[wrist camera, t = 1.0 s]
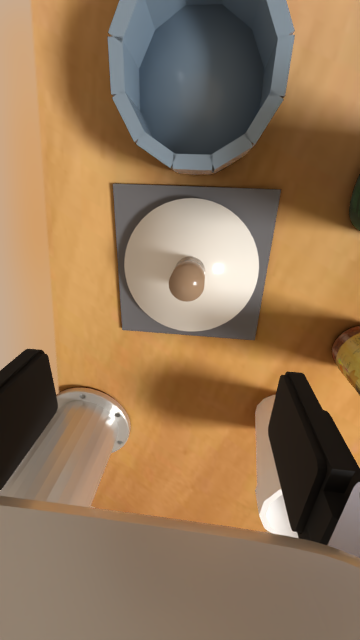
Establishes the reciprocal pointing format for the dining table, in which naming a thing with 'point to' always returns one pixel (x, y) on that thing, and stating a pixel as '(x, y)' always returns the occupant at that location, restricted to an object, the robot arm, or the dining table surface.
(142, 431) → the dining table surface
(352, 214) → the coffee jar
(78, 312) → the dining table surface
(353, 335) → the sauce bottle
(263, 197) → the mat
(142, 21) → the bowl
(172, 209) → the lid
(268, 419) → the foam cup
